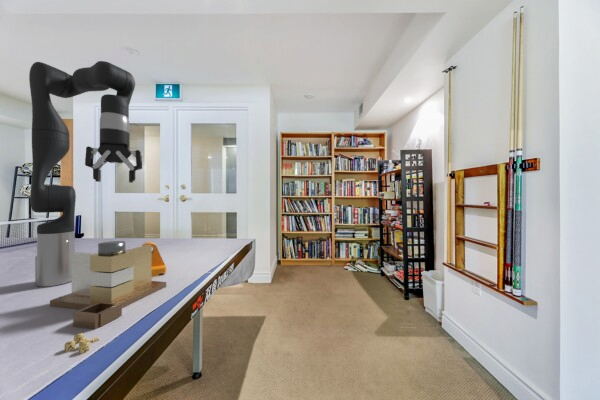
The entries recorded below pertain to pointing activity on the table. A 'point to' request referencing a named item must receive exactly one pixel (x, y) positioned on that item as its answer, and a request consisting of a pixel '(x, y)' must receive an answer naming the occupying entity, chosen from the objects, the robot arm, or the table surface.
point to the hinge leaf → (95, 274)
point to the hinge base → (112, 289)
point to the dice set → (82, 343)
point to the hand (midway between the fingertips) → (115, 182)
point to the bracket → (156, 261)
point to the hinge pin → (111, 248)
